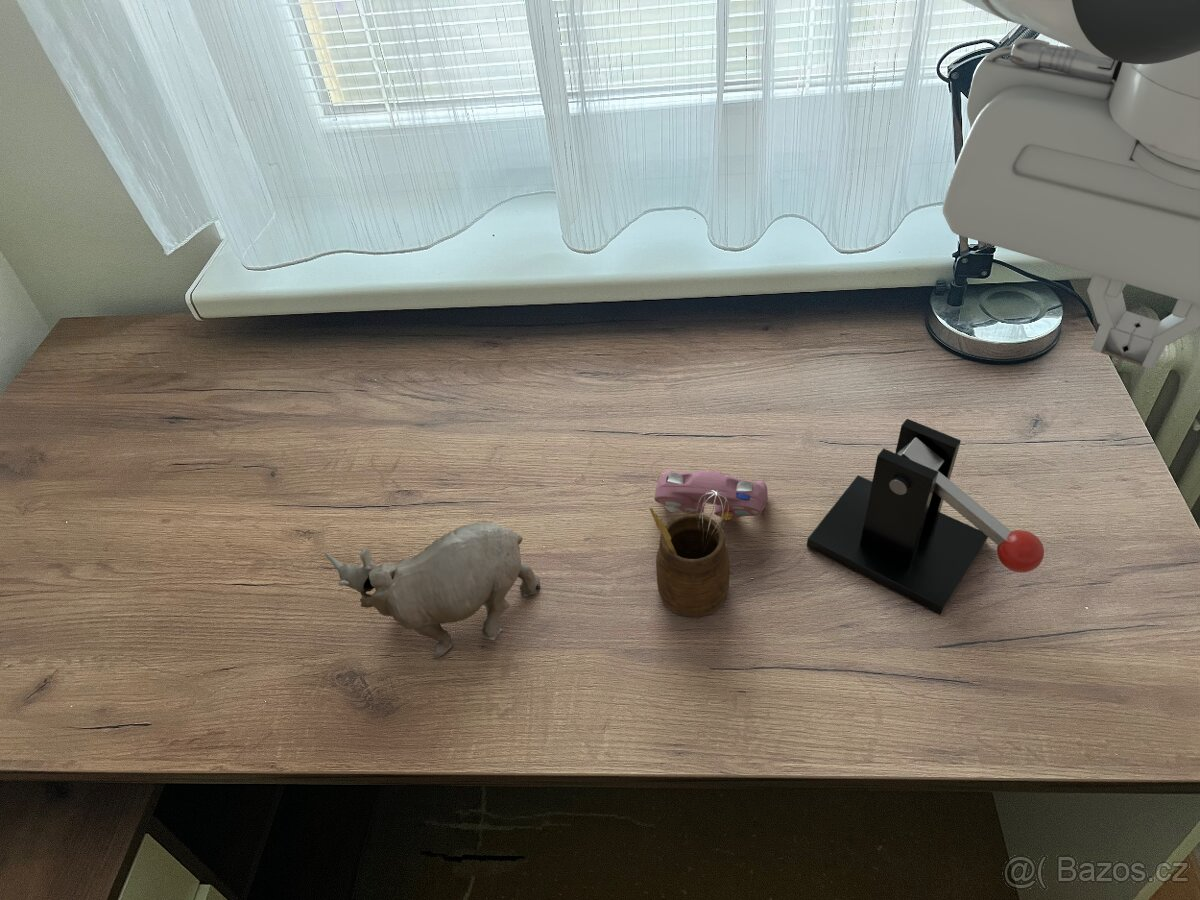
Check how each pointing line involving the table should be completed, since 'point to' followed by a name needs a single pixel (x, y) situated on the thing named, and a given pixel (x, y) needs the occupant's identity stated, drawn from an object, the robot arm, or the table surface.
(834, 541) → the bracket
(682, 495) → the pink toy car
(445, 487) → the table surface
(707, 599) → the utensil holder
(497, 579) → the rhinoceros figurine
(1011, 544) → the lever
